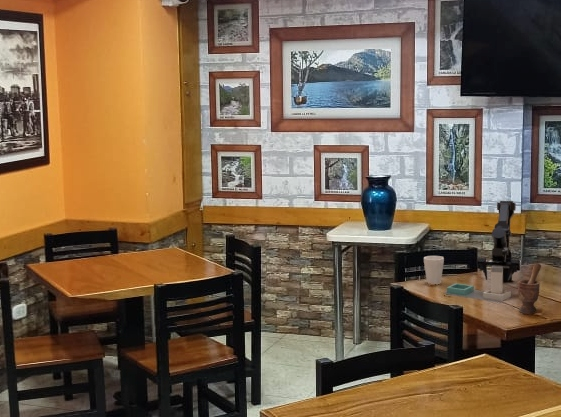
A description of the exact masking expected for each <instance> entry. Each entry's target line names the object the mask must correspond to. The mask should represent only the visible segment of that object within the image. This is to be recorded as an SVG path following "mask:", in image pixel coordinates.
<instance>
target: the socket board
mask: <svg viewBox="0 0 561 417" xmlns="http://www.w3.org/2000/svg"><path fill="white" fill-rule="evenodd" d="M443 294H446V295H451V296H455V297H462V298H469V299H475V300H481V301H487V302H495V303H501V304H502V303H503V302H505V301H507V300H509V299H511V298H512V297H515V295H512V291H511V290H506V289H503V294H502V295H499V294H492V293H491V288H490V289H487V290H486V291H485V290H479V289H475V286H474V285H469V284H465V283H464V284H463V283H457V282H455V283H453V284H452V285H451V284H450V286H447V287H446V291H445V292H444V293H443ZM443 294H442V295H443Z"/></svg>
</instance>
